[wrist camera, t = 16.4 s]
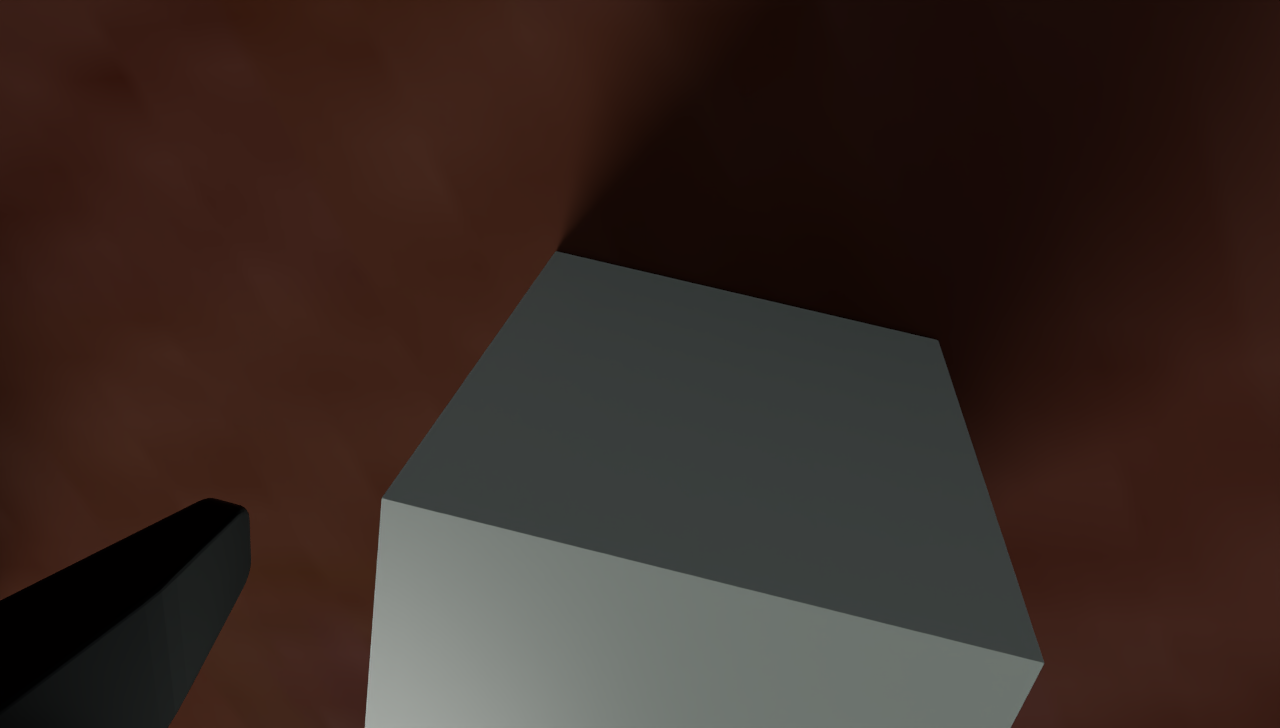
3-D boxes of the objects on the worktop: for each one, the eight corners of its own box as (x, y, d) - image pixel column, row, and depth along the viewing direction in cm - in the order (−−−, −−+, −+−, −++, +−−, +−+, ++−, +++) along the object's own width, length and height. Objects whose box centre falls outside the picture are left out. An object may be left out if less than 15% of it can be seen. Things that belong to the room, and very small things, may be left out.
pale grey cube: (938, 340, 18) (1044, 663, 10) (829, 633, 22) (847, 1040, 14) (556, 250, 19) (382, 498, 11) (509, 553, 22) (351, 904, 14)
